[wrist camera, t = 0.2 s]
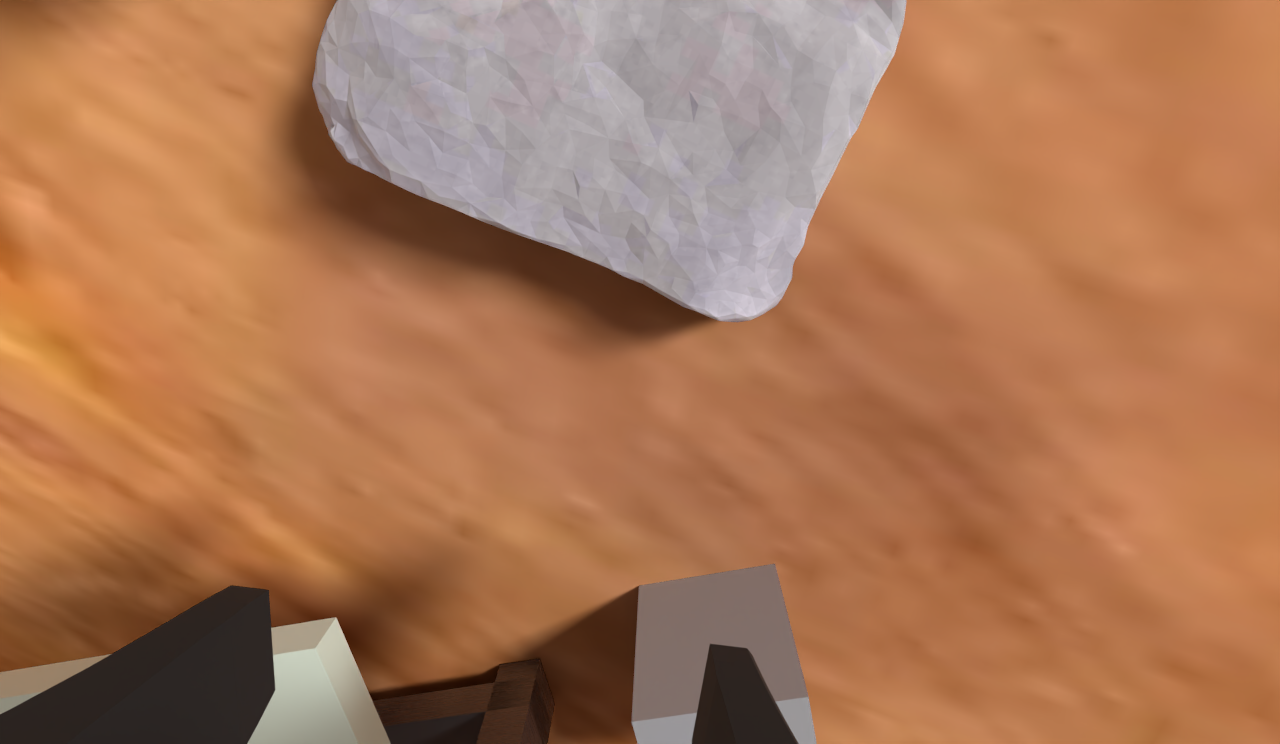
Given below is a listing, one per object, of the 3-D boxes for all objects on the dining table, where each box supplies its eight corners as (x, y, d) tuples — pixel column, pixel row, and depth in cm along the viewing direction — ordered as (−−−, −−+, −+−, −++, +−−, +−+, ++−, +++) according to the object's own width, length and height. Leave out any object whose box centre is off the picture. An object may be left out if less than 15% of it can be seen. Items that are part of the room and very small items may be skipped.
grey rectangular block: (794, 672, 24) (830, 826, 18) (666, 690, 24) (666, 846, 19) (774, 563, 22) (808, 697, 17) (638, 584, 23) (631, 721, 17)
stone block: (467, -225, 17) (338, 165, 18) (422, -406, 12) (252, 135, 14) (892, -17, 19) (746, 329, 20) (996, -108, 14) (795, 353, 15)
